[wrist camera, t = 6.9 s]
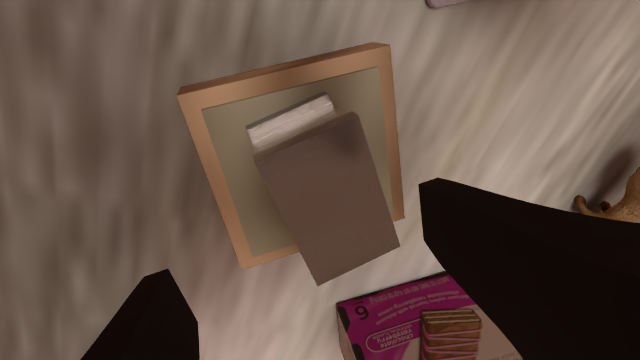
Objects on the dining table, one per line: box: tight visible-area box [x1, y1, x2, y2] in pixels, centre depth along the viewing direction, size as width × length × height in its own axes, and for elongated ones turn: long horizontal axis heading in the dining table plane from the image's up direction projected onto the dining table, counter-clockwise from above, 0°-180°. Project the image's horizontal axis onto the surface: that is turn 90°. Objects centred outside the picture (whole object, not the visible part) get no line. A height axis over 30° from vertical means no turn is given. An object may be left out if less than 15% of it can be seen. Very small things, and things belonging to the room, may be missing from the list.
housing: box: [245, 91, 400, 286], centre depth 16 cm, size 4×6×5 cm, turn 22°
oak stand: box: [177, 42, 405, 270], centre depth 19 cm, size 10×10×2 cm
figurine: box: [575, 167, 640, 223], centre depth 27 cm, size 4×5×15 cm
